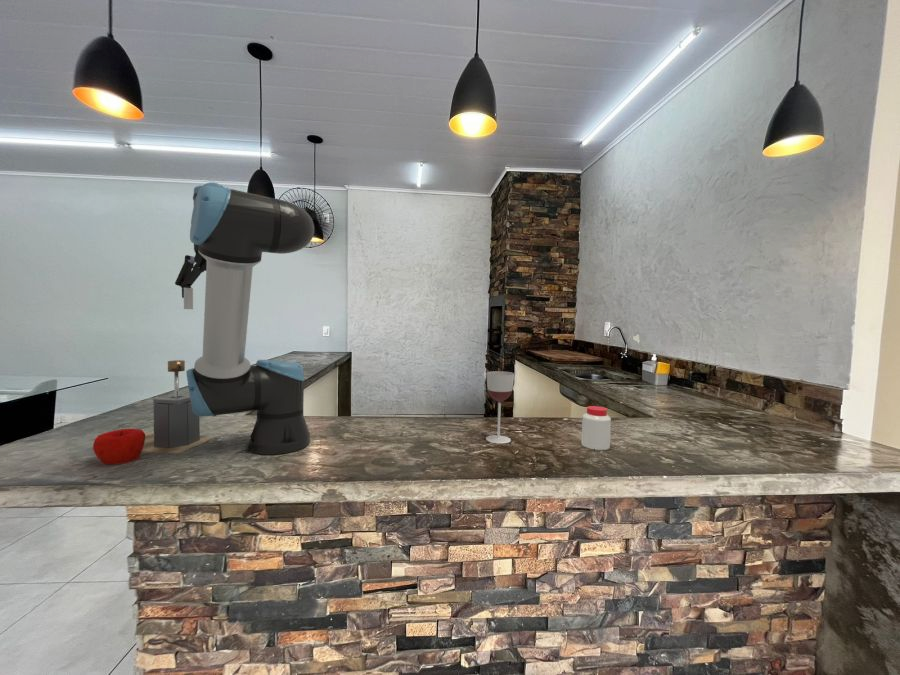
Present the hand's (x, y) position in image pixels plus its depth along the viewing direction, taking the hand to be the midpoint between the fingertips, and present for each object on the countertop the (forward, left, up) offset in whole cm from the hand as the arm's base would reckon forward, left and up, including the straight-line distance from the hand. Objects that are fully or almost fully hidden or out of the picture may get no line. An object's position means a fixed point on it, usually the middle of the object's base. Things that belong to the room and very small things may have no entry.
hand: (209, 309), depth 114 cm
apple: (-2, +30, -37) cm, 48 cm away
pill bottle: (-118, -2, -37) cm, 124 cm away
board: (0, +18, -37) cm, 41 cm away
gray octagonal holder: (-4, +16, -36) cm, 39 cm away
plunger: (-4, +17, -34) cm, 38 cm away
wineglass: (-90, -3, -37) cm, 97 cm away
